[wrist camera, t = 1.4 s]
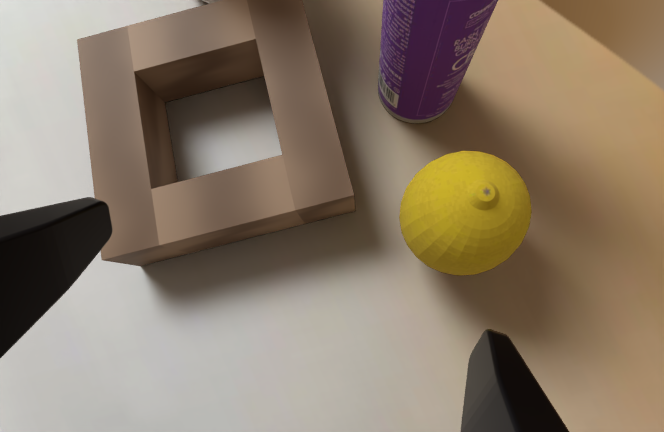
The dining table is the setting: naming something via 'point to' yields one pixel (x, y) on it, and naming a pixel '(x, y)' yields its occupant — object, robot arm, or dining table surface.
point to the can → (210, 1)
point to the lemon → (465, 213)
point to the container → (427, 53)
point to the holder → (192, 78)
